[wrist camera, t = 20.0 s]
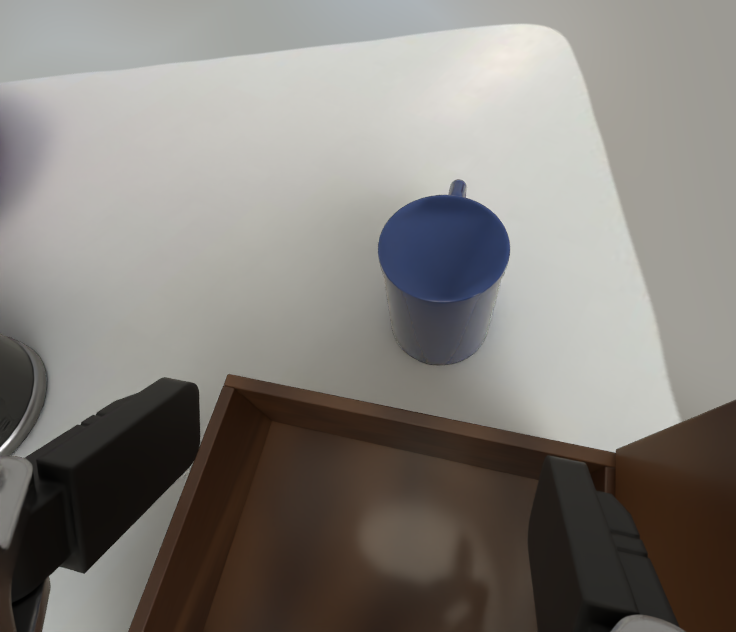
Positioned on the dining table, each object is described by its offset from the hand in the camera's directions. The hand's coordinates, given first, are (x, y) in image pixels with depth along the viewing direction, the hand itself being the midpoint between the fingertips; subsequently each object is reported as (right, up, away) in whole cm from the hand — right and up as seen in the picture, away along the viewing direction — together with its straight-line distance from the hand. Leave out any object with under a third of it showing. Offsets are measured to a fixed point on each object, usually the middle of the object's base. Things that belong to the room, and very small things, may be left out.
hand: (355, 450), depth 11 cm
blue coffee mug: (+5, +4, +19) cm, 20 cm away
